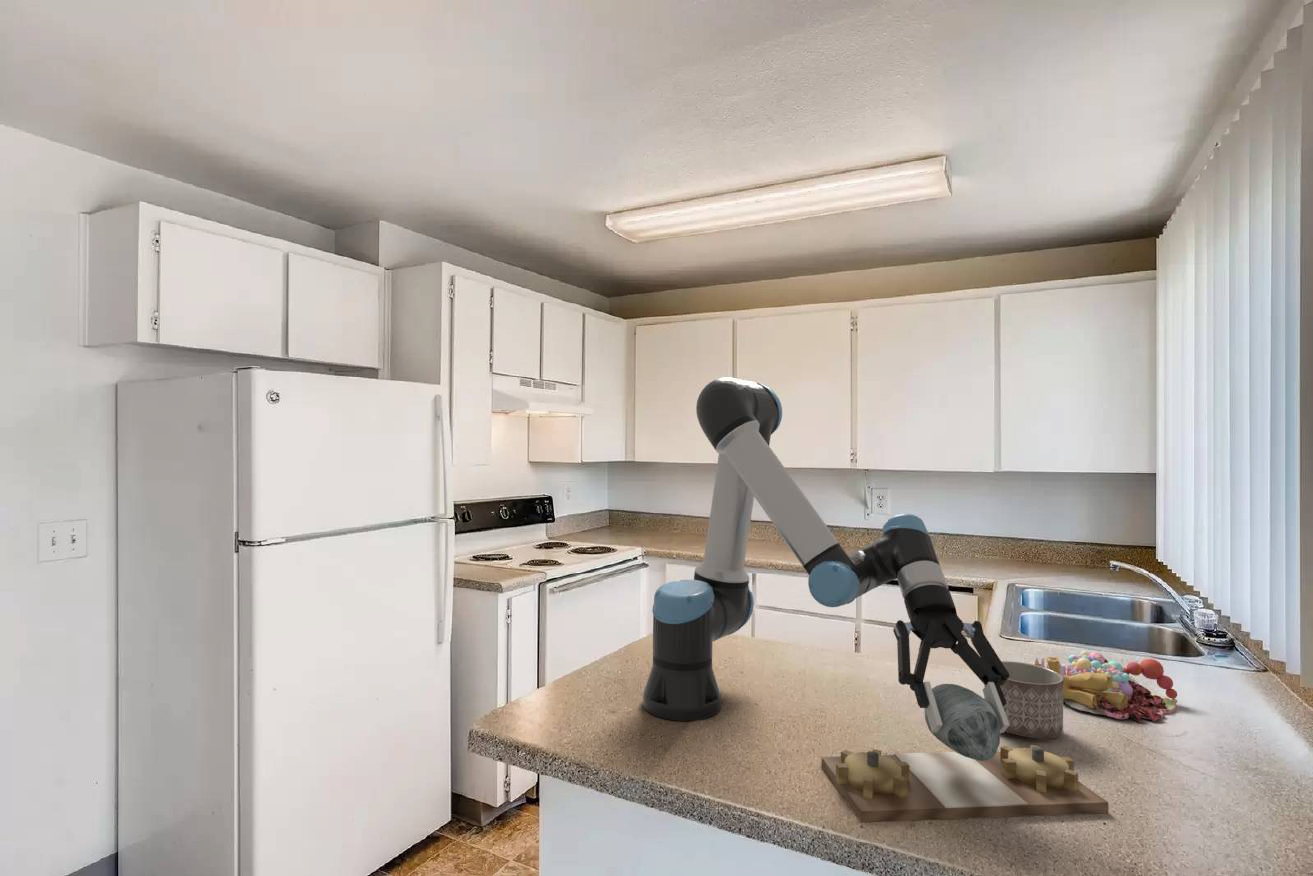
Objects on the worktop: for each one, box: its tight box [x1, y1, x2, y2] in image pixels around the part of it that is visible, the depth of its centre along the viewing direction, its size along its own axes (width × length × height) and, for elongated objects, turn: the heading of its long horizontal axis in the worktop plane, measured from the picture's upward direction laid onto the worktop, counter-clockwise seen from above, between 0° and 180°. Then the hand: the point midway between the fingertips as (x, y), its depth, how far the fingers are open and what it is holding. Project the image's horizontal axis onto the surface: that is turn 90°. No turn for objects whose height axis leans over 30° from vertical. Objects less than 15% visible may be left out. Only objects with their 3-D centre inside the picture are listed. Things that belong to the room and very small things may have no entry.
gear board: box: [820, 744, 1109, 823], centre depth 101 cm, size 37×16×6 cm, turn 95°
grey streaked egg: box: [924, 683, 1001, 761], centre depth 101 cm, size 14×10×10 cm
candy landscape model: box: [1034, 650, 1178, 723], centre depth 140 cm, size 25×24×9 cm
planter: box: [983, 660, 1064, 739], centre depth 124 cm, size 13×13×10 cm
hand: (970, 729), depth 98 cm, fingers closed on grey streaked egg, 9 cm apart
